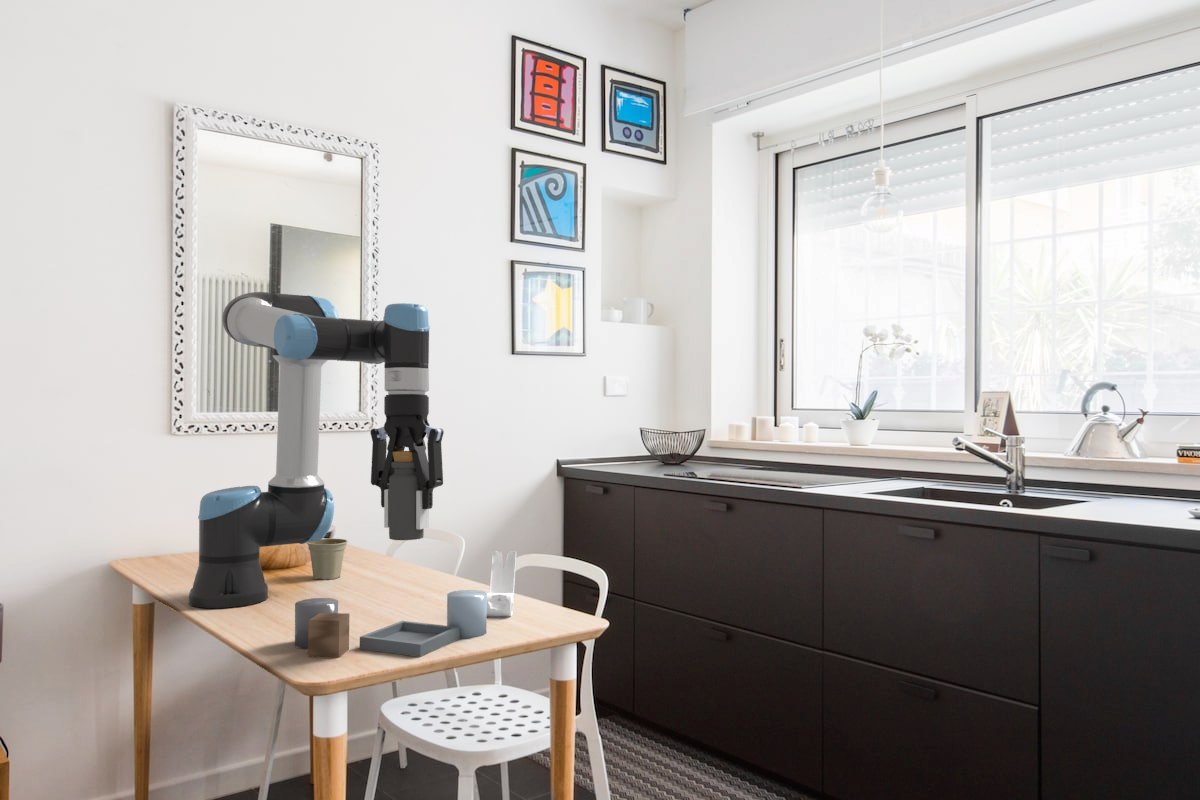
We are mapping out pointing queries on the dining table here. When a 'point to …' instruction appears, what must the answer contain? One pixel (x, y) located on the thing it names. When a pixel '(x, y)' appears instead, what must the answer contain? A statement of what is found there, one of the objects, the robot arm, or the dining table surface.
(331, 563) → the flower pot
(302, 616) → the gray domed object
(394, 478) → the bottle
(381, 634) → the tray
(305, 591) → the dining table surface
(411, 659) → the dining table surface
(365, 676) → the dining table surface
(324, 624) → the walnut block
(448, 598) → the light blue cylinder
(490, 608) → the plastic part
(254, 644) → the dining table surface
